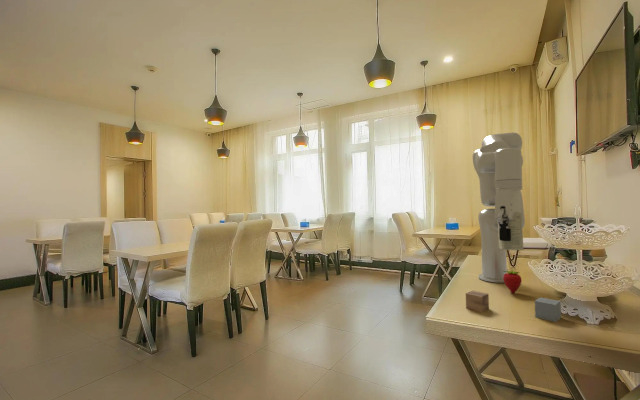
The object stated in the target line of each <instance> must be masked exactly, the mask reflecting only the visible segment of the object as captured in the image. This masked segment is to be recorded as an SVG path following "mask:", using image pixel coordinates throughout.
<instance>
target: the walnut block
mask: <svg viewBox="0 0 640 400" xmlns="http://www.w3.org/2000/svg"><path fill="white" fill-rule="evenodd" d="M489 299H490V296H489V293H486V292H483V291H482V292H481V291H478V290H477V291H476V290H470V291H469V292H465V308H466V309H468V310H470V311H475V312H479V313H483V312H486V311H487V310H489V309H490V300H489Z"/></svg>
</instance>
